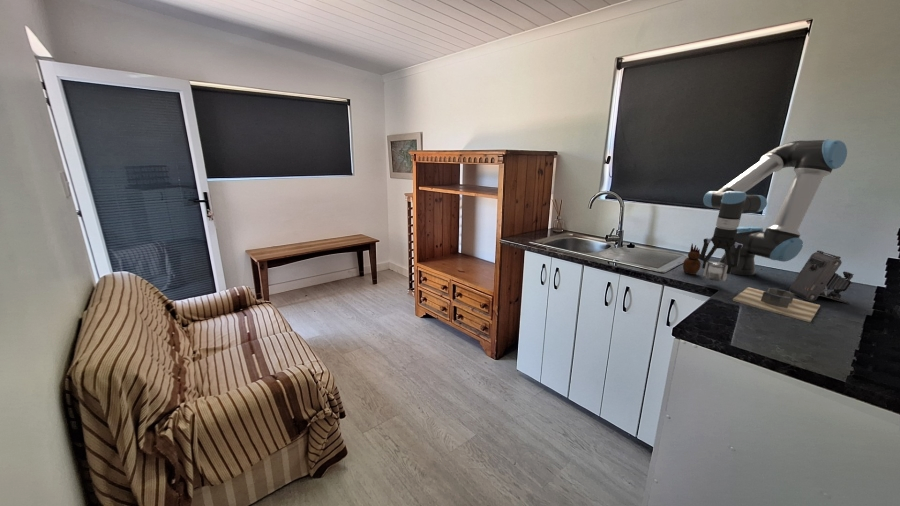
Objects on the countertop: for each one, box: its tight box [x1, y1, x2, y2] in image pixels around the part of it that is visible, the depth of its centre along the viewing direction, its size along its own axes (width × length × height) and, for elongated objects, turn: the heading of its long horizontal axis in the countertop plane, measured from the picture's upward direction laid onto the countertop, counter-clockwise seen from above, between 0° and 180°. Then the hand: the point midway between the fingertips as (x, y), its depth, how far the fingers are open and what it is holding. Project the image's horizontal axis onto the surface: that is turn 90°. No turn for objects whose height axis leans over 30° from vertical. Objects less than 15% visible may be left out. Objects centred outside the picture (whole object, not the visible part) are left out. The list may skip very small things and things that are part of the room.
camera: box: [788, 250, 855, 305], centre depth 137 cm, size 11×17×20 cm, turn 79°
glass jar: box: [705, 261, 727, 282], centre depth 148 cm, size 6×6×7 cm
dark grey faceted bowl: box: [761, 286, 796, 308], centre depth 131 cm, size 11×8×4 cm
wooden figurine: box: [682, 243, 702, 275], centre depth 163 cm, size 7×6×15 cm
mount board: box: [732, 286, 821, 323], centre depth 132 cm, size 22×22×1 cm
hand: (714, 277), depth 149 cm, fingers closed on glass jar, 6 cm apart
